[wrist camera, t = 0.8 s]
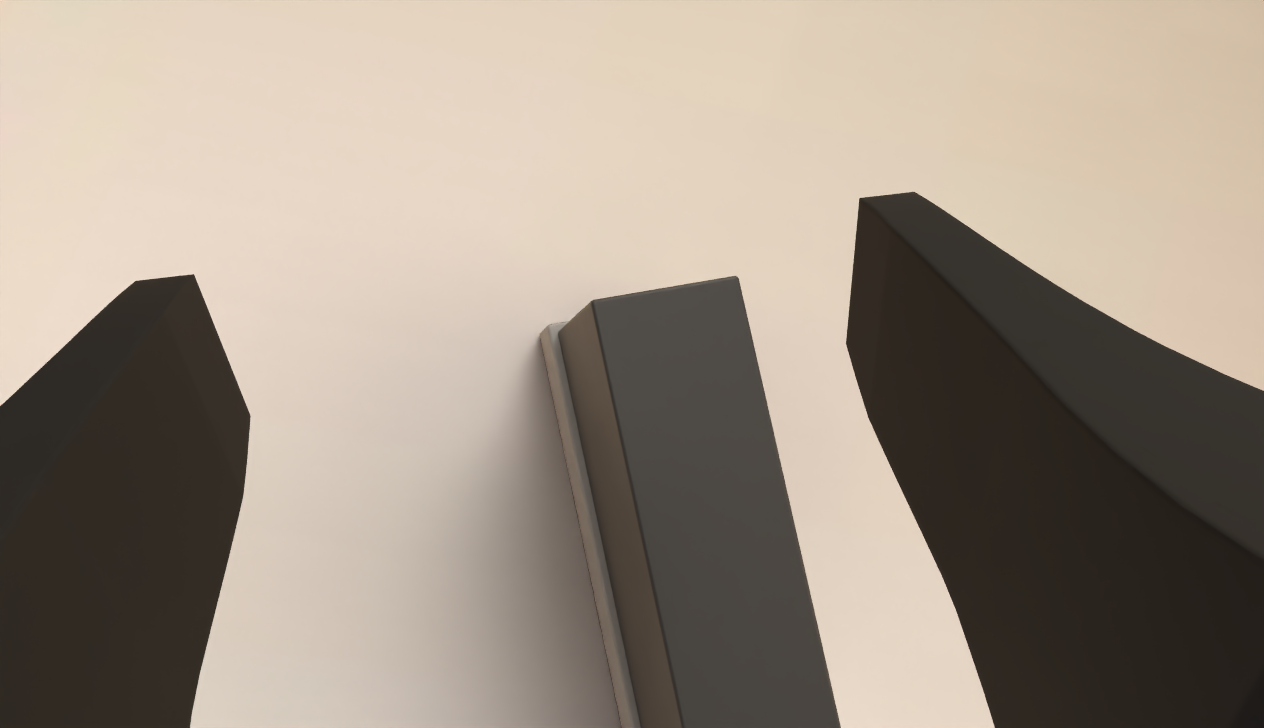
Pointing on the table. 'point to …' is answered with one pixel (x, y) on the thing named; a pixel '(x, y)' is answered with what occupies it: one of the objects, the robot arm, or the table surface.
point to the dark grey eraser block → (686, 513)
